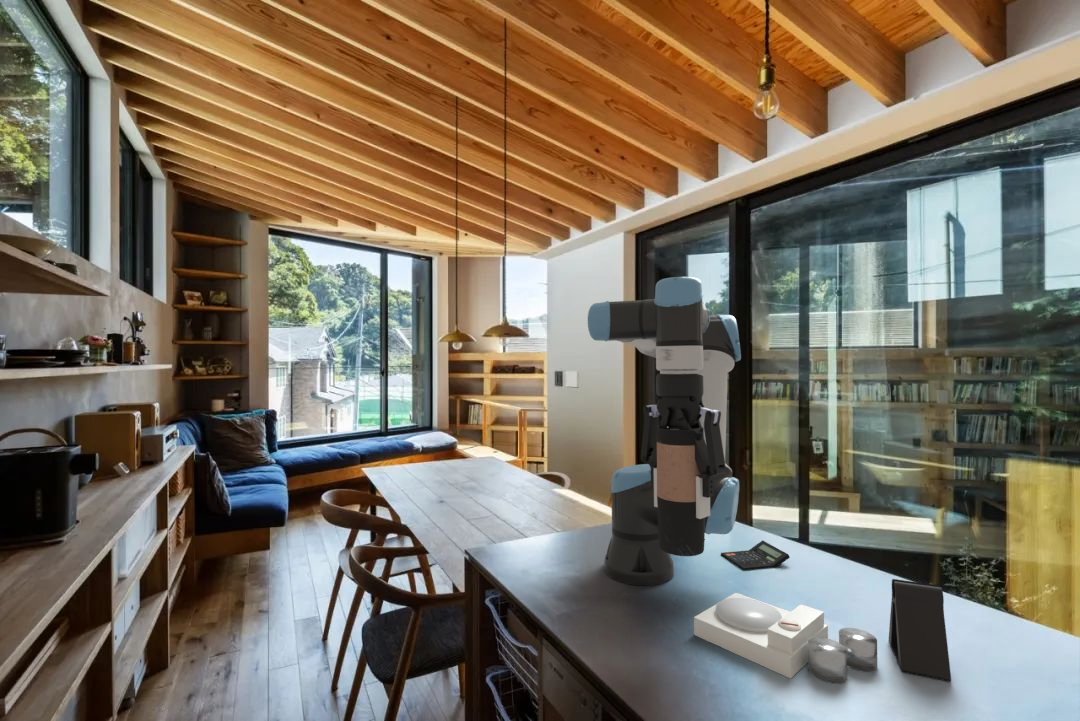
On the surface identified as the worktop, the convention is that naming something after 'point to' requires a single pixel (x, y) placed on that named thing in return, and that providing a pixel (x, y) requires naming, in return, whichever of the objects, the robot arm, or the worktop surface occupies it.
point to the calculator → (757, 557)
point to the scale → (762, 631)
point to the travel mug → (678, 493)
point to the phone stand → (919, 629)
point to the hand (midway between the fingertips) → (681, 510)
